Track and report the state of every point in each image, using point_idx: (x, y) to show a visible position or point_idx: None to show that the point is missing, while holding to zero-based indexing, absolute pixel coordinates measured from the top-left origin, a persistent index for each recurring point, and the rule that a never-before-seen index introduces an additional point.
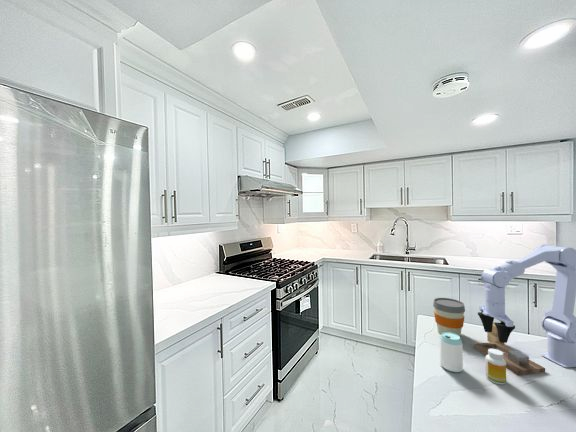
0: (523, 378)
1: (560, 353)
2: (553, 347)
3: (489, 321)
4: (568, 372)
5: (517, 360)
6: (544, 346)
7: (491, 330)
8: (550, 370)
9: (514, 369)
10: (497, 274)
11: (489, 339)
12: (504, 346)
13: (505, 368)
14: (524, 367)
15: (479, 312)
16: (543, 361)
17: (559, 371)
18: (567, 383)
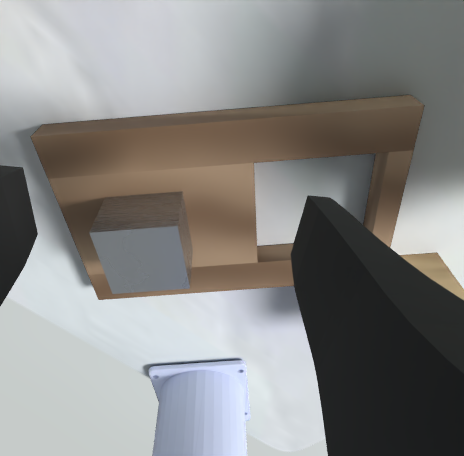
0: (11, 132)
1: (171, 419)
2: (192, 432)
3: (343, 378)
4: (119, 354)
5: (109, 213)
6: (307, 407)
7: (295, 272)
8: (126, 312)
9: (55, 133)
10: None
11: (428, 264)
12: None
13: None
14: (88, 212)
15: None
16: (200, 337)
17: (122, 334)
18: (25, 297)
